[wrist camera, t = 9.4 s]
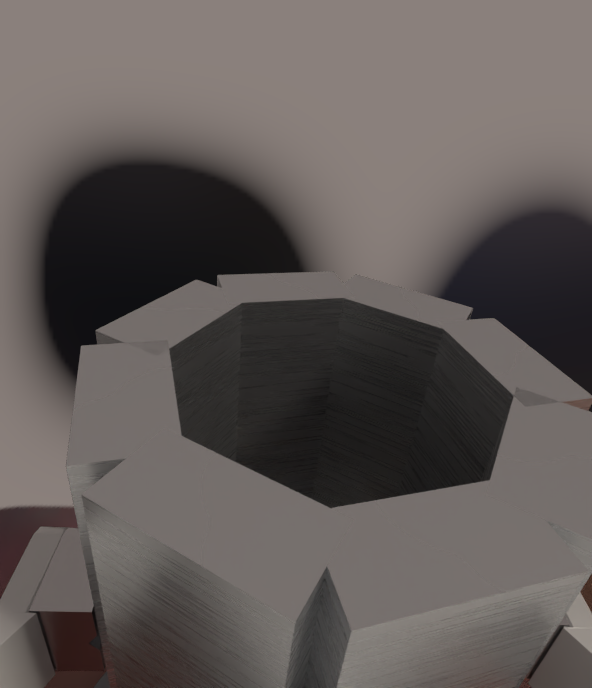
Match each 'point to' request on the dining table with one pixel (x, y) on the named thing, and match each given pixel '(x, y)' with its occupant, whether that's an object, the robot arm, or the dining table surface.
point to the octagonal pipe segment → (326, 489)
